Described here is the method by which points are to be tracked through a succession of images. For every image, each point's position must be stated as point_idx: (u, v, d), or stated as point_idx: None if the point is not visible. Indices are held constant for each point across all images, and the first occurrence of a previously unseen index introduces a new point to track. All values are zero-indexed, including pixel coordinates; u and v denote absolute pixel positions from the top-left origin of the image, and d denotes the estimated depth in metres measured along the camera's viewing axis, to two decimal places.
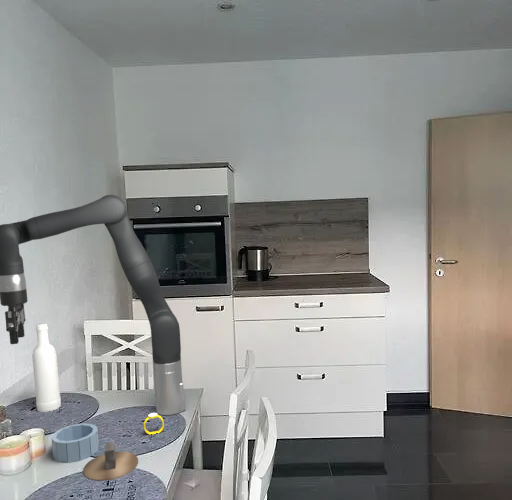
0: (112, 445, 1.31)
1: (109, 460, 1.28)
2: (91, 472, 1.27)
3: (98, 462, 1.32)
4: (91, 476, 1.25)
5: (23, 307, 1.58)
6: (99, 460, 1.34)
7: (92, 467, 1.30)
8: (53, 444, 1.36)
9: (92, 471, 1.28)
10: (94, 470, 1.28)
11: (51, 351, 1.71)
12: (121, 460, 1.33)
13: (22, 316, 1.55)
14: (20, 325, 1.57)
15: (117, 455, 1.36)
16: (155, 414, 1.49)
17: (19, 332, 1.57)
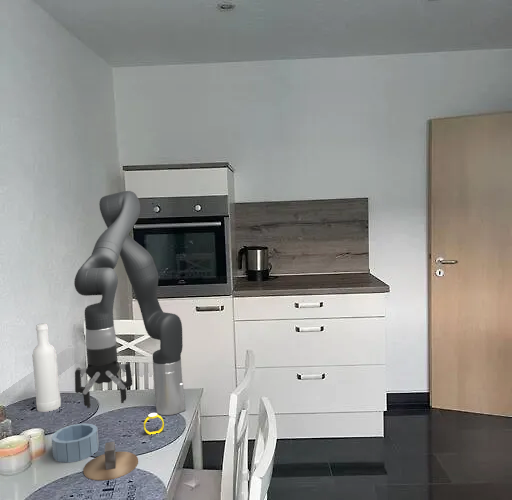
0: (112, 445, 1.31)
1: (109, 460, 1.28)
2: (91, 472, 1.27)
3: (98, 462, 1.32)
4: (91, 476, 1.25)
5: None
6: (99, 460, 1.34)
7: (92, 467, 1.30)
8: (53, 444, 1.36)
9: (92, 471, 1.28)
10: (94, 470, 1.28)
11: (51, 351, 1.71)
12: (121, 460, 1.33)
13: None
14: (88, 392, 1.29)
15: (117, 455, 1.36)
16: (155, 414, 1.49)
17: (89, 400, 1.28)
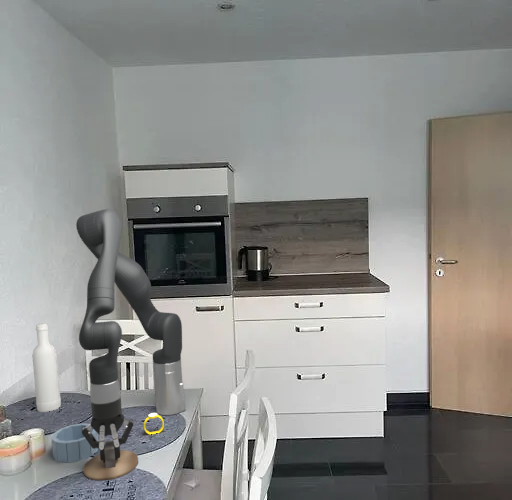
0: (112, 444, 1.31)
1: (109, 459, 1.28)
2: (91, 471, 1.27)
3: (98, 461, 1.32)
4: (91, 474, 1.26)
5: None
6: (99, 459, 1.34)
7: (92, 465, 1.30)
8: (53, 444, 1.36)
9: (92, 469, 1.28)
10: (94, 468, 1.28)
11: (51, 351, 1.71)
12: (121, 459, 1.33)
13: None
14: (104, 446, 1.31)
15: None
16: (155, 414, 1.49)
17: None
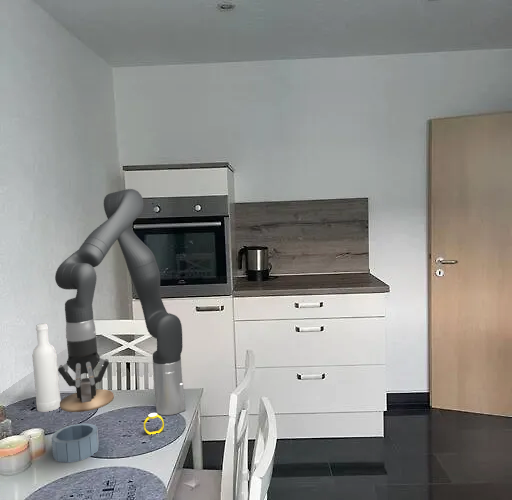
0: (88, 380, 1.35)
1: (85, 393, 1.32)
2: (67, 405, 1.31)
3: (74, 397, 1.36)
4: (67, 407, 1.29)
5: None
6: (75, 396, 1.37)
7: (68, 401, 1.34)
8: (53, 444, 1.36)
9: (68, 404, 1.32)
10: (70, 403, 1.32)
11: (51, 351, 1.71)
12: (97, 395, 1.37)
13: None
14: None
15: None
16: (155, 414, 1.49)
17: None
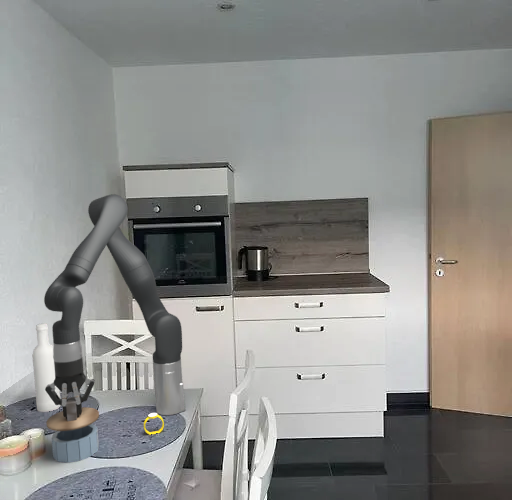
0: (74, 399, 1.40)
1: (70, 412, 1.37)
2: (53, 423, 1.36)
3: (61, 416, 1.41)
4: (53, 426, 1.34)
5: None
6: (62, 414, 1.42)
7: (55, 419, 1.39)
8: (53, 444, 1.36)
9: (54, 422, 1.37)
10: (56, 421, 1.37)
11: (51, 351, 1.71)
12: (83, 414, 1.41)
13: None
14: None
15: None
16: (155, 414, 1.49)
17: None
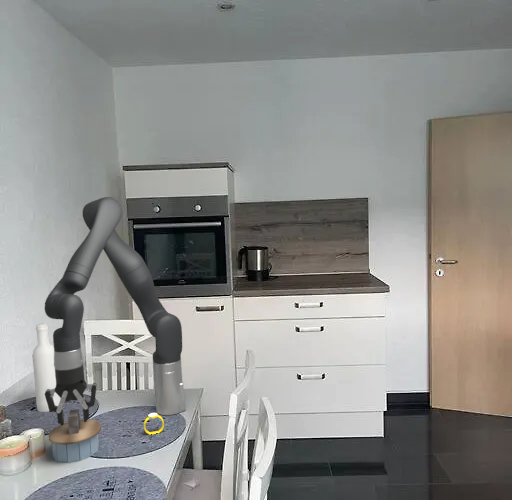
0: (76, 412, 1.40)
1: (72, 425, 1.37)
2: (55, 436, 1.36)
3: (63, 428, 1.41)
4: (55, 439, 1.34)
5: None
6: (64, 426, 1.42)
7: (57, 432, 1.39)
8: (53, 444, 1.36)
9: (56, 435, 1.37)
10: (58, 434, 1.37)
11: (51, 351, 1.71)
12: (85, 426, 1.42)
13: None
14: (62, 410, 1.39)
15: (82, 422, 1.45)
16: (155, 414, 1.49)
17: (63, 419, 1.39)
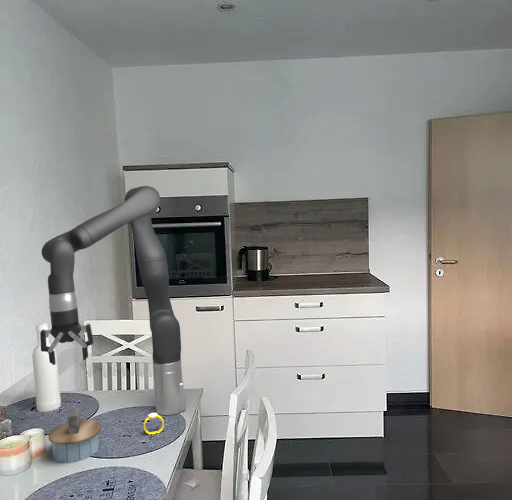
0: (76, 412, 1.40)
1: (72, 425, 1.37)
2: (55, 436, 1.36)
3: (63, 428, 1.41)
4: (55, 439, 1.34)
5: None
6: (64, 426, 1.42)
7: (57, 432, 1.39)
8: (53, 444, 1.36)
9: (56, 435, 1.37)
10: (58, 434, 1.37)
11: None
12: (85, 426, 1.42)
13: None
14: (53, 351, 1.44)
15: (82, 422, 1.45)
16: (155, 414, 1.49)
17: (54, 358, 1.44)
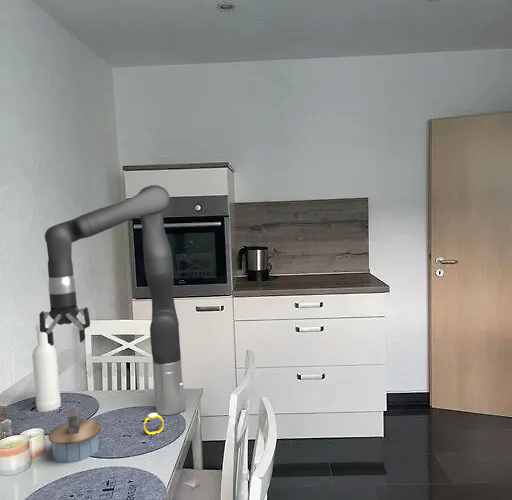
0: (76, 412, 1.40)
1: (72, 425, 1.37)
2: (55, 436, 1.36)
3: (63, 428, 1.41)
4: (55, 439, 1.34)
5: None
6: (64, 426, 1.42)
7: (57, 432, 1.39)
8: (53, 444, 1.36)
9: (56, 435, 1.37)
10: (58, 434, 1.37)
11: (51, 351, 1.71)
12: (85, 426, 1.42)
13: None
14: (52, 332, 1.50)
15: (82, 422, 1.45)
16: (155, 414, 1.49)
17: (52, 339, 1.50)
